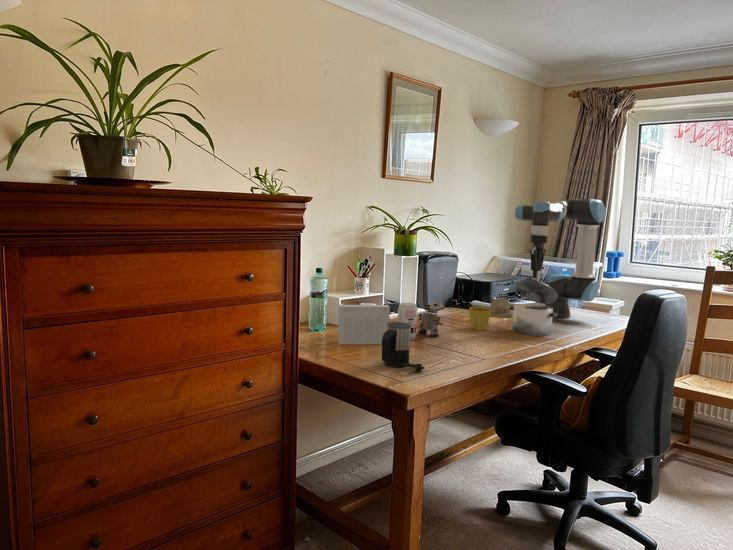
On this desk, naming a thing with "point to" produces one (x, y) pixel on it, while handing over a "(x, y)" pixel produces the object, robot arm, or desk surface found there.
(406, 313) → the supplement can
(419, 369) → the milk frother
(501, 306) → the ceramic model
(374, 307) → the skincare box
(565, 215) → the robot arm
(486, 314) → the plant pot
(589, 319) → the desk surface
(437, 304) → the figurine
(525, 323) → the cooker pot
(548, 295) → the lid
